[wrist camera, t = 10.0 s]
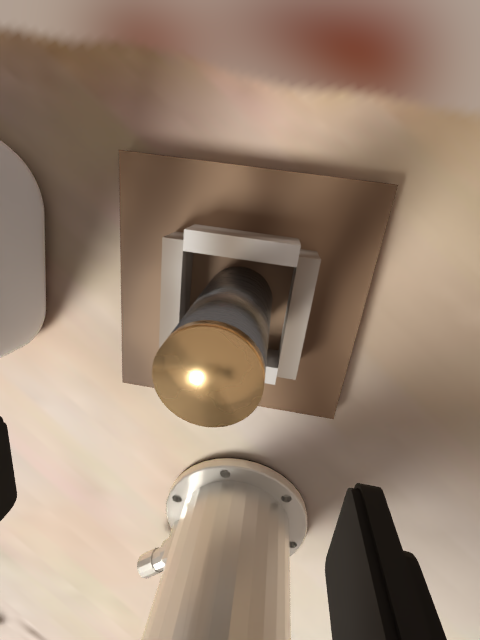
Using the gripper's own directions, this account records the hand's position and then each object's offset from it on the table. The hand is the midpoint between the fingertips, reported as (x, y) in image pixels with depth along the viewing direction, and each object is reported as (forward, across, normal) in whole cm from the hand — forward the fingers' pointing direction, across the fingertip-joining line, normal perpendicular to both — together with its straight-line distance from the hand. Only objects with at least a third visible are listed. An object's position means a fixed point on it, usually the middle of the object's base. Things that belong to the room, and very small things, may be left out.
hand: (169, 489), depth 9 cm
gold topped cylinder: (+14, 0, -1) cm, 15 cm away
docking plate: (+16, 0, -1) cm, 16 cm away
